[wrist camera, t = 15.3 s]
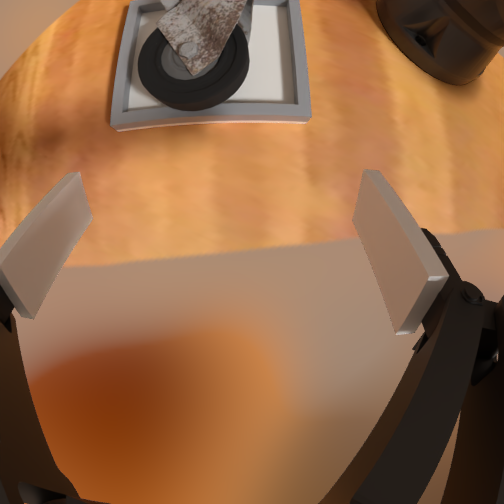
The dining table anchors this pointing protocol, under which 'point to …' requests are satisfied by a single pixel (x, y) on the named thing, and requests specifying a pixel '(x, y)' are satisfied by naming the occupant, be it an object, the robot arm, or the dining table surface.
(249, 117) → the shallow rectangular tray
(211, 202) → the dining table surface
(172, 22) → the caster wheel
